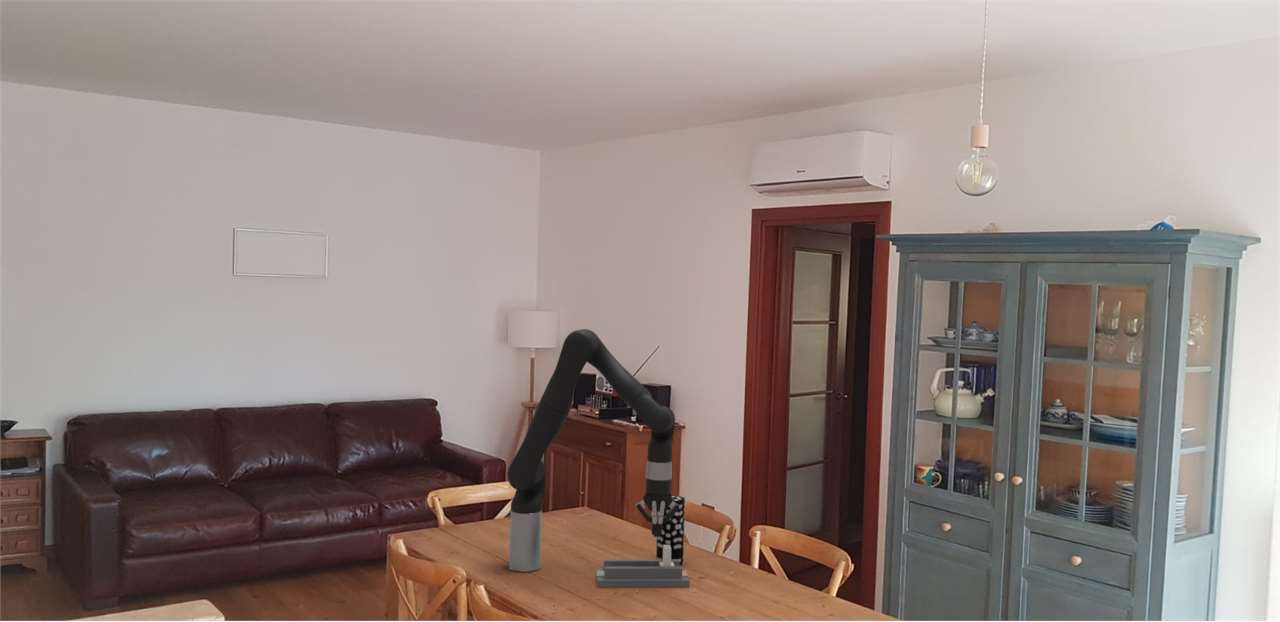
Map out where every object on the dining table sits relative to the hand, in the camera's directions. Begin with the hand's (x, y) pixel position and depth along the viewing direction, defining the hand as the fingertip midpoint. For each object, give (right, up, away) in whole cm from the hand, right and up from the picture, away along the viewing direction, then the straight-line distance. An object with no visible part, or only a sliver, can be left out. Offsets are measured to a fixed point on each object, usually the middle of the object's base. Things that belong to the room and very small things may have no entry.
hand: (656, 536), depth 273 cm
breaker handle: (+3, -11, 0) cm, 11 cm away
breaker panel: (-4, -13, 0) cm, 14 cm away
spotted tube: (+4, -13, +19) cm, 23 cm away
